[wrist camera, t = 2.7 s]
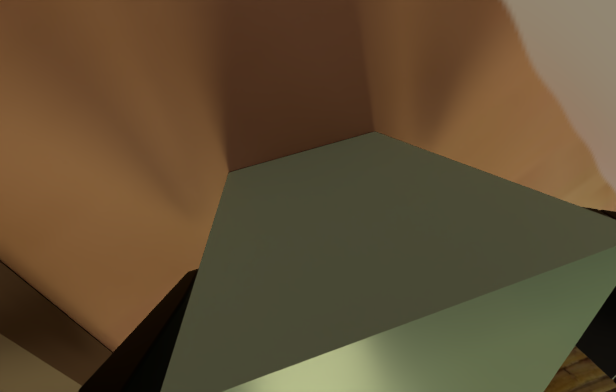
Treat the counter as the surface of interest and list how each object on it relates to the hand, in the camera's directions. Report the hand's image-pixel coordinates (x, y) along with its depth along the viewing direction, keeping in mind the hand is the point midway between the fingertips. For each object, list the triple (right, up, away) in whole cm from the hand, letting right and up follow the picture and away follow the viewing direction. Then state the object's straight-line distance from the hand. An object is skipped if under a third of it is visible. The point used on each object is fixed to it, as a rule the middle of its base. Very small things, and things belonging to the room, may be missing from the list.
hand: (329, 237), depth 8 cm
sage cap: (0, +1, +1) cm, 2 cm away
